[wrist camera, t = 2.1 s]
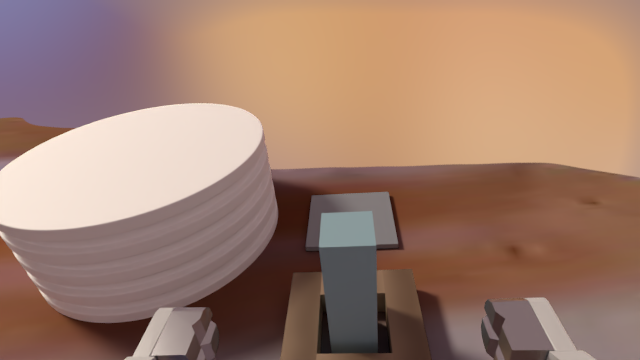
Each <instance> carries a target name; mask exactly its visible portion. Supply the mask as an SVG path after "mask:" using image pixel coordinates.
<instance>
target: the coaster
mask: <svg viewBox="0 0 640 360" xmlns="http://www.w3.org/2000/svg"><path fill="white" fill-rule="evenodd" d="M361 211H372V214H373V222H374V231H375V240H376V249H384V248H398V240H397V234H396V229H395V224H394V219H393V214H392V208H391V203H390V198H389V193H388V192H375V193H354V194H333V195H312V198H311V206H310V214H309V223H308V231H307V239H306V251H319V239H320V226H321V213H338V212H361Z"/></svg>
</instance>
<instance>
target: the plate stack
mask: <svg viewBox="0 0 640 360" xmlns="http://www.w3.org/2000/svg"><path fill="white" fill-rule="evenodd" d="M277 221H278V207H277V202H276V197H275V191H274V185H273V181H272V175H271V169H270V165H269V162H268V153H267V148H266V145H265V137H264V132H263V127H262V124H261V122H260V121H259V120H258V119H257V118H256V117H255V116H254V115H253V114H251V113H250V112H247V111H245V110H243V109H240V108H237V107H233V106H228V105H221V104H208V103H193V104H192V103H191V104H176V105H168V106H160V107H153V108H148V109H142V110H138V111H133V112H129V113H124V114H121V115H117V116H113V117H109V118H106V119H102V120H99V121H96V122H93V123H90V124H87V125H84V126H82V127H79V128H76V129H74V130H71V131H68V132H66V133H64V134H61V135H59V136H57V137H55V138H52V139H50V140H48V141H46V142H44V143H42V144H40V145H38V146H36V147H35V148H33V149H31V150H29V151H28V152H26V153H24V154H23V155H21V156H20V157H18V158H17V159H15V160H14V161H12V162H11V163H10V164H8V165H7V166H6V167H4V168H3V169H2V170H1V171H0V236H1V237H2V239H3V240H4V241H5V243H6V244H7V246H8V247H9V248H10V249H11V250H12V252H13V254H14V255H15V257H16V258H17V260H18V261H19V263H20V264H21V266H22V267H23V268H24V269H25V270H26V272H27V274H28V275H29V277H30V278H31V280H32V281H33V283H34V284H35V285H36V287H37V288H38V289H39V291H40V293H41V294H42V295H43V297H44V298H45V300H46V301H47V302H48V304H49V305H50V306H51V307H52V308H54V309H55V310H56V311H58V312H59V313H61V314H63V315H65V316H68V317H70V318H73V319H77V320H81V321H87V322H95V323H118V322H128V321H135V320H141V319H146V318H150V317H153V316H154V314H155V312H156V311H157V310H158V309H159V308H172V307H184V306H187V305H189V304H191V303H194V302H196V301H198V300H200V299H202V298H204V297H206V296H208V295H210V294H211V293H213V292H215V291H217V290H218V289H220V288H221V287H223V286H225V285H226V284H228V283H229V282H230V281H232V280H233V279H235V278H236V277H237V276H238V275H240V274H241V273H242V272H243V271H244V270H246V269H247V268H248V267H249V266H250V265H251V264H252V263H253V262H254V261H255V260H256V259H257V258H258V257H259V255H260V254H261V253H262V252H263V250H264V249H265V248H266V246H267V245H268V243H269V242H270V240H271V238H272V236H273V234H274V231H275V229H276V225H277Z"/></svg>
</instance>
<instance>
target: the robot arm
mask: <svg viewBox="0 0 640 360" xmlns="http://www.w3.org/2000/svg"><path fill="white" fill-rule="evenodd" d="M484 308H485V311H486V314H487V315H486V316H485V317H484V318H482V324H481V331H482V339H483V343H484V346H485V349H486V352H487V353H488V354H489V355H490V356H491V357H492V358H494V360H596V359H595V358H593V357H592V356H591V355H589V354H588V353H587V352H585V351H582V350H577V348H576V347H575V345H574V343H573V342H572V340H571V338H570V337H569V335H568V333H567V332H566V330H565V328H564V327H563V325H562V323H561V322H560V320H559V318H558V317H557V315H556V313H555V312H554V310H553V308H552V307H551V305H550V303H549V302H548V300H547V299H545V298H505V299H488V300H487V301H486V302H485V307H484ZM212 315H213V314H212V312H211V310H210V308H208V307H172V308H159V309H158V310H157V311H156V312H155V314H154V316H153V318H152V320H151V322H150V323H149V325H148V327H147V329H146V331H145V333H144V335H143V337H142V339H141V341H140V343H139V345H138V346H137V348H136V350H135V352H134V354H133V356H132V357H127V358H125V359H124V360H212V359H213V358H214V357H215V356H216V352H217V349H218V343H219V332H218V328H217V325H216V324H215V323H214V322H212V321H211V318H212Z"/></svg>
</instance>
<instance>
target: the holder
mask: <svg viewBox="0 0 640 360" xmlns="http://www.w3.org/2000/svg"><path fill="white" fill-rule="evenodd" d="M384 311H385V315H386V324H387V332H388V341H389V349H390V353H339V354H321V336H322V317H323V313H327V310H326V302H325V294H324V286H323V277H322V272H297V273H293V278H292V284H291V291H290V298H289V304H288V311H287V318H286V324H285V331H284V338H283V344H282V351H281V358H280V360H432V359H431V354H430V350H429V345H428V341H427V336H426V331H425V327H424V322H423V318H422V313H421V309H420V304H419V299H418V295H417V290H416V286H415V281H414V276H413V272H412V269H400V270H377V312H384Z"/></svg>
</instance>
